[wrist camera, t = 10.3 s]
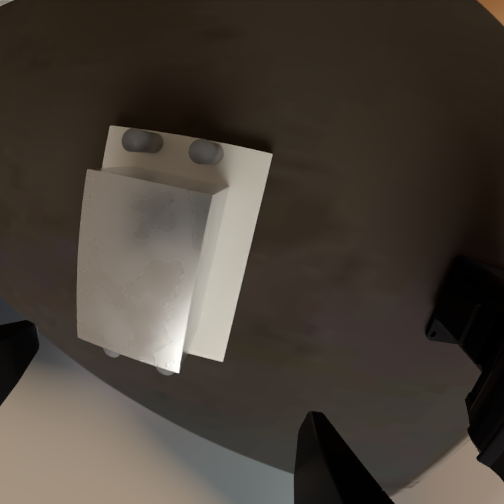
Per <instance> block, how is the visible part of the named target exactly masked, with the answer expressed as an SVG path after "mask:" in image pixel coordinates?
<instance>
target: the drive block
mask: <svg viewBox="0 0 504 504" xmlns="http://www.w3.org/2000/svg"><path fill="white" fill-rule="evenodd" d="M228 191H229V187H227V186H222V185H218V184H214V183H210V182H205V181H201V180H196V179H192V178H187V177H183V176H178V175H173V174H168V173H164V172H159V171H154V170H149V169H144V168H139V167H134V166H126V167H108V168H93V169H87V174H86V181H85V188H84V195H83V203H82V212H81V222H80V234H79V248H78V267H77V329H78V338H81V339H83V340H86V341H88V342H90V343H93V344H95V345H98V346H101V347H103V348H106V349H108V350H111V351H114V352H116V353H119V354H122V355H125V356H127V357H130V358H133V359H136V360H139V361H142V362H145V363H148V364H151V365H154V366H157V367H160V368H163V369H166V370H170V371H173V372H176V373H179V372H180V369H181V367H182V365H183V362H184V360H185V358H186V356H187V353H188V351H189V349H190V346H191V344H192V342H193V339H194V337H195V335H196V333H197V330H198V328H199V324H200V319H201V314H202V309H203V304H204V299H205V295H206V290H207V285H208V280H209V275H210V271H211V266H212V261H213V257H214V252H215V248H216V243H217V239H218V234H219V230H220V225H221V221H222V216H223V212H224V208H225V203H226V199H227V195H228Z"/></svg>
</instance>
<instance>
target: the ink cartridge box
mask: <svg viewBox="0 0 504 504" xmlns="http://www.w3.org/2000/svg"><path fill="white" fill-rule="evenodd" d="M10 1H13V0H0V6H2V5H4V4H6V3H8V2H10Z"/></svg>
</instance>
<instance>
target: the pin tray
mask: <svg viewBox="0 0 504 504" xmlns="http://www.w3.org/2000/svg"><path fill="white" fill-rule="evenodd" d="M272 155H273V154H271V153H266V152H262V151H258V150H253V149H249V148H244V147H240V146H235V145H230V144H225V143H220V142H215V141H210V140H206V139H199V138H194V137H188V136H182V135H176V134H170V133H164V132H157V131H150V130H143V129H137V128H128V127H119V126H110V128H109V133H108V138H107V143H106V148H105V154H104V159H103V165H102V168H108V167H126V166H134V167H139V168H144V169H149V170H154V171H159V172H164V173H168V174H173V175H178V176H183V177H187V178H192V179H196V180H201V181H205V182H210V183H214V184H218V185H222V186H227V187H229V191H228V195H227V199H226V203H225V208H224V212H223V216H222V221H221V225H220V230H219V234H218V239H217V243H216V248H215V252H214V257H213V261H212V266H211V271H210V275H209V280H208V285H207V290H206V295H205V299H204V304H203V309H202V314H201V319H200V324H199V328H198V330H197V333H196V335H195V337H194V339H193V342H192V344H191V346H190V349H189V351H188V353H190V354H194V355H197V356H201V357H205V358H209V359H213V360H217V361H221V362H223V359H224V355H225V351H226V347H227V343H228V338H229V334H230V330H231V326H232V322H233V318H234V313H235V309H236V305H237V301H238V297H239V292H240V288H241V284H242V280H243V276H244V272H245V267H246V263H247V259H248V255H249V251H250V247H251V242H252V238H253V234H254V230H255V226H256V222H257V217H258V213H259V209H260V205H261V201H262V197H263V193H264V188H265V184H266V180H267V176H268V172H269V168H270V164H271V159H272ZM103 349H104V351H105V353H106V354H107V355H109V356H111V357H118V356H119V353H116V352H114V351H111V350H108V349H106V348H103ZM156 368H157V370H158V371H159V372H160V373H162V374H164V375H172V374H173V373H174V372H173V371H170V370H166V369H163V368H160V367H157V366H156Z"/></svg>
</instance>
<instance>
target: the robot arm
mask: <svg viewBox="0 0 504 504" xmlns="http://www.w3.org/2000/svg"><path fill="white" fill-rule="evenodd" d="M461 261H462V264H461V265H460V262H461ZM433 331H434V332H433ZM432 332H433V334H431V333H432ZM425 334H426V336H427V338H428V339H429V340H433V341H439V342H446V343H453V344H458V345H459V346H460V347H461V349H462V350H463V351H464V352H465V353H466V354H467V356H468V357H469V358H470V359H471V360H472V361H473V363H474V364H475V365H476V366H477V367H478V368H479V370H480V371H481V372H482V373H481V375H480V377H479V378H478V380H477V382H476V384H475V386H474V387H473V389H472V391H471V392H470V393H469V394H468V395H467V397H466V399H465V402H466V406H467V411H468V415H469V424H470V426H469V427H468V429H467V431H468V434H469V436H470V438H471V441H472V442H473V444H474V445H475V446H476V448H477V450H478V451H479V453H480V454H479V455H478V456H477V460H478V461H479V462H481V463H483V464H484V465H486V466H488V467H490V468H491V469H492V470H493V471H494V472H495V473H497V475H499V476H500V478H501V479H502V480H503V482H504V270H502V269H500V268H497V267H494V266H492V265H489V264H486V263H483V262H480V261H478V260H475V259H472V258H469V257H466V256H463V255H459V256H457V257H456V259H455V261H454V264H453V266H452V269H451V272H450V275H449V277H448V280H447V283H446V285H445V287H444V290H443V292H442V295H441V297H440V300H439V302H438V304H437V307H436V309H435V312H434V314H433V317H432V319H431V321H430V323H429V326H428V328H427V330H426V333H425ZM38 349H39V338H38V329H37V326H36V325H35V324H34V323H32V322H30V321H28V320H24V321H19V322H14V323H9V324H4V325H0V406H1V404H2V403H3V402H4V400H5V399H6V398H7V396H8V395H9V394H10V392H11V391H12V390H13V388H14V387H15V386H16V384H17V383H18V382H19V380H20V378H21V377H22V375H23V374H24V372H25V370H26V369H27V367H28V366H29V364H30V362H31V361H32V359H33V358H34V356H35V354H36V353H37V351H38ZM294 504H394V502H393V501H392V500H391V499H390V498H389V496H388V495H387V494H386V493H385V491H382V488H381V487H380V485H379V484H378V483H377V482H376V480H375V479H374V478H373V477H372V475H371V474H370V473H369V472H368V470H367V469H366V468H365V467H364V465H363V464H362V463H361V462H360V460H359V459H358V458H357V456H356V455H355V454H354V453H353V451H352V450H351V449H350V448H349V446H348V445H347V444H346V442H345V441H344V440H343V438H342V437H341V436H340V435H339V433H338V432H337V431H336V429H335V428H334V427H333V425H332V424H331V423H330V421H329V420H328V419H327V417H326V416H325V415H324V414H323V413H321V412H316V411H310V412H308V413H307V415H306V417H305V419H304V421H303V423H302V425H301V427H300V429H299V433H298V441H297V451H296V460H295V469H294Z"/></svg>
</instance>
